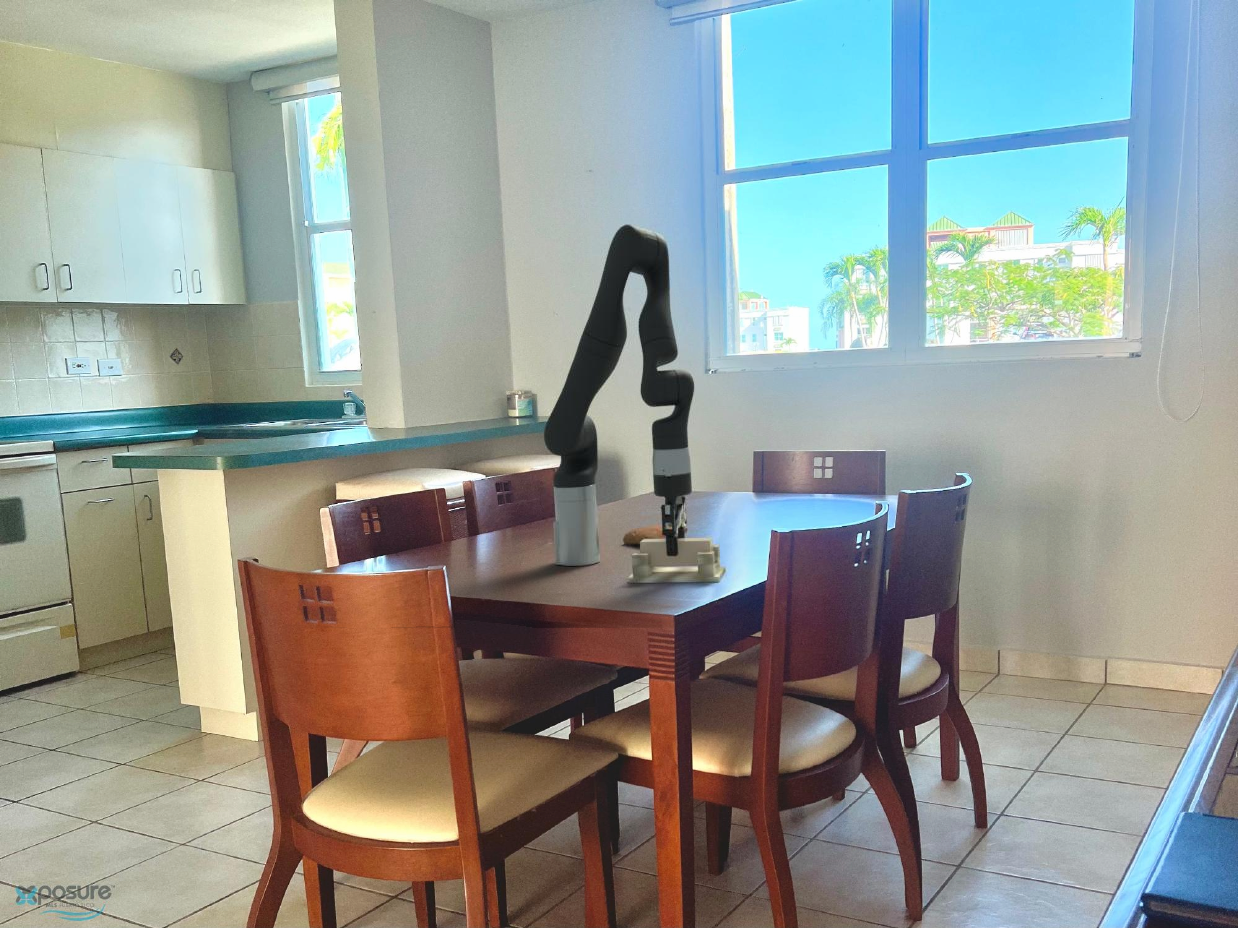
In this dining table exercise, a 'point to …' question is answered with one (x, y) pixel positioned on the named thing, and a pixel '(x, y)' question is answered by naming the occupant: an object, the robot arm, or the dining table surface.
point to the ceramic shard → (644, 534)
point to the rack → (678, 569)
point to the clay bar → (686, 551)
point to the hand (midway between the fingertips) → (676, 551)
